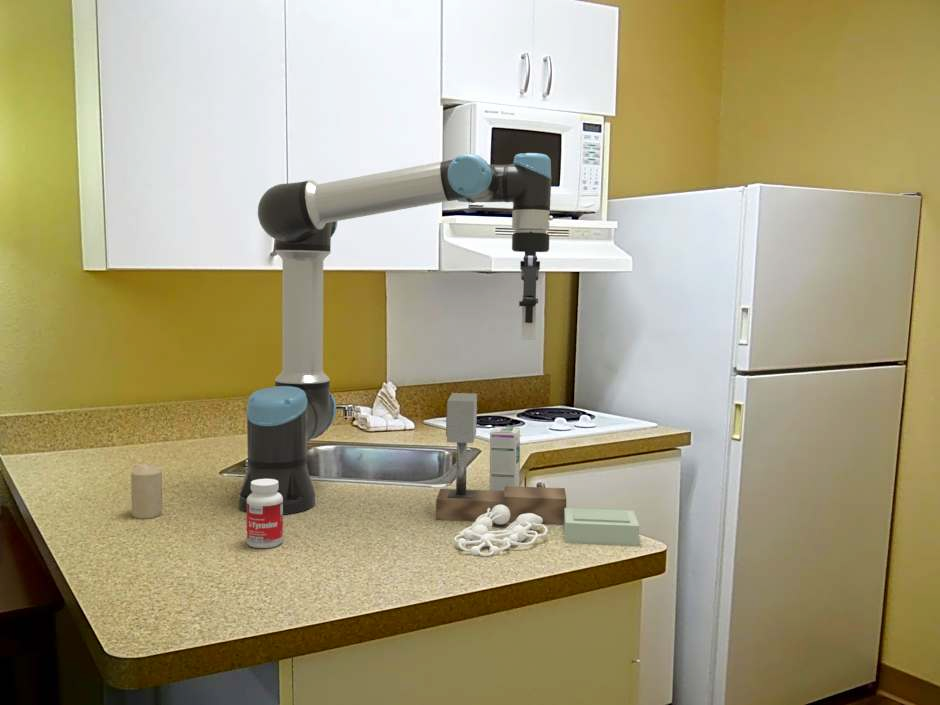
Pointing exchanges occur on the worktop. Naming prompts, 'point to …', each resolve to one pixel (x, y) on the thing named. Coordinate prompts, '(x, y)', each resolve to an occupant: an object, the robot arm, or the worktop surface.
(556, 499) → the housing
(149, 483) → the candle
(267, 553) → the worktop surface
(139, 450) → the worktop surface
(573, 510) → the cover
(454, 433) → the block
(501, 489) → the syrup box
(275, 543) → the pill bottle
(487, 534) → the tangled rod sculpture
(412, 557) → the worktop surface
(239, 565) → the worktop surface
